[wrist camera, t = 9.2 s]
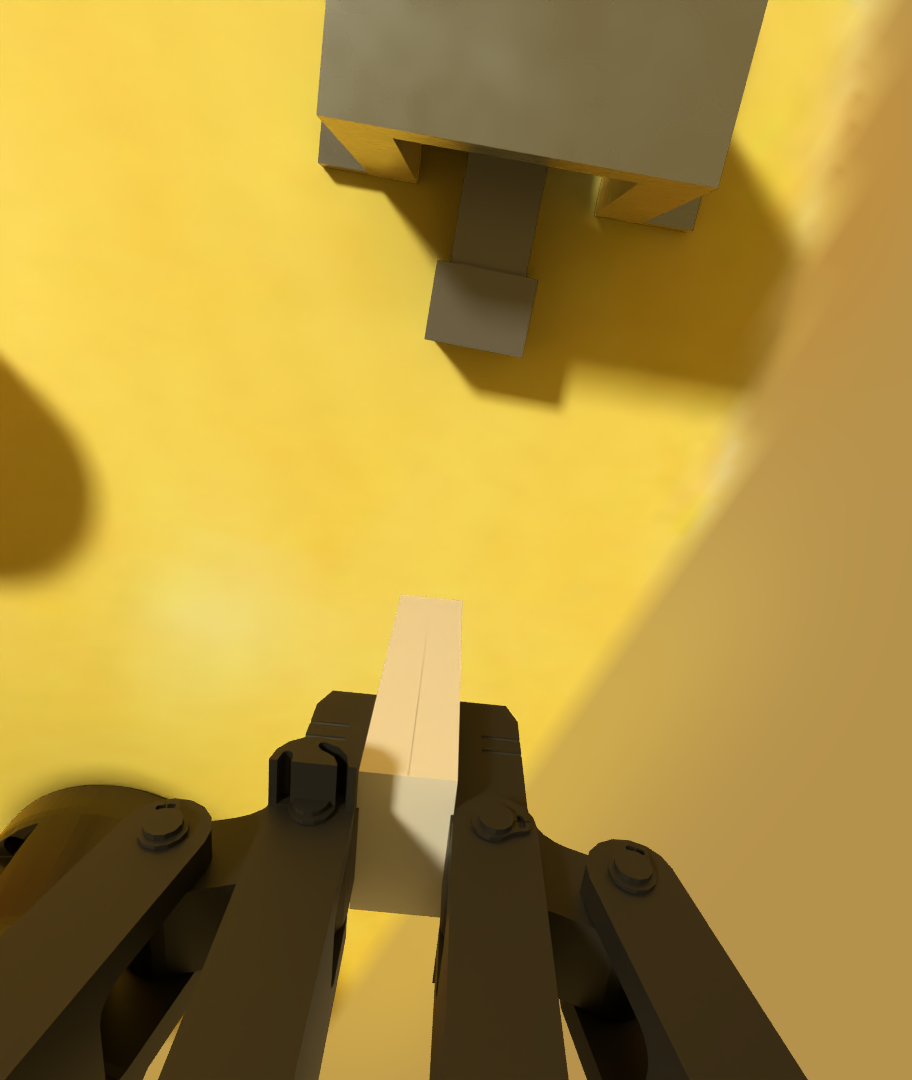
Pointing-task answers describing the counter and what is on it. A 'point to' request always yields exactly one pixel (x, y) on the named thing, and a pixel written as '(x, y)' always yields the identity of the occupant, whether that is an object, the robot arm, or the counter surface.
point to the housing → (543, 91)
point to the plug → (489, 259)
